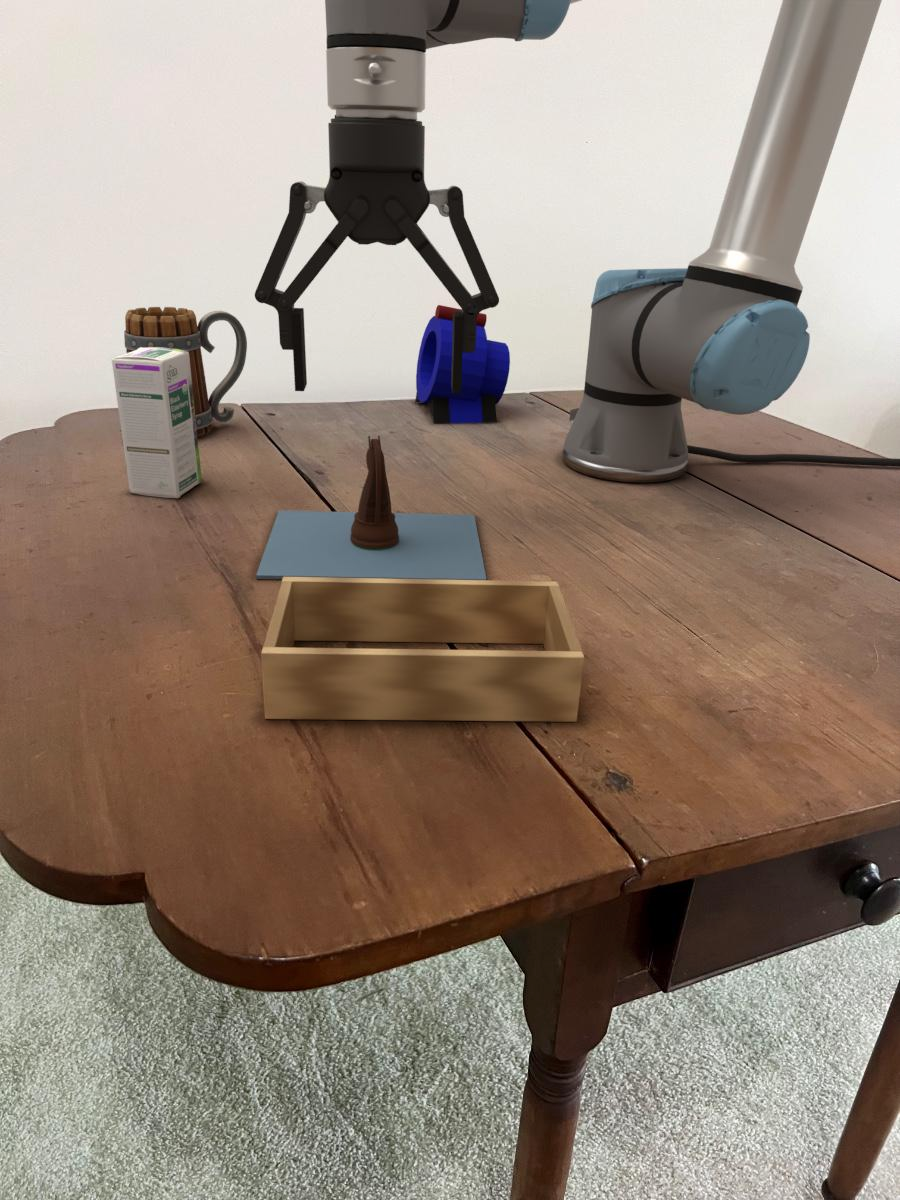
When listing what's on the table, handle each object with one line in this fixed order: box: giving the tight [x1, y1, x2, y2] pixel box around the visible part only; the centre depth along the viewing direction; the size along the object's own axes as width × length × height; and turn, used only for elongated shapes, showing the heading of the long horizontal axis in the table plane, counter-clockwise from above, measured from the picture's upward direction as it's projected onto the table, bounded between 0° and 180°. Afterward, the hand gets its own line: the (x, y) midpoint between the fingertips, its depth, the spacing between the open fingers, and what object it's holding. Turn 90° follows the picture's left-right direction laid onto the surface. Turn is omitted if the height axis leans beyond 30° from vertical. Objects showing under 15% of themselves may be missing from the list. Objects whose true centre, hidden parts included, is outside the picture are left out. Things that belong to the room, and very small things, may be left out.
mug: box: [123, 306, 248, 439], centre depth 116 cm, size 16×11×15 cm
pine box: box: [260, 577, 585, 723], centre depth 65 cm, size 21×12×5 cm, turn 93°
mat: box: [255, 509, 488, 581], centre depth 87 cm, size 20×16×1 cm
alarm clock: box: [415, 304, 511, 425], centre depth 131 cm, size 12×12×15 cm
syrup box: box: [111, 347, 203, 499], centre depth 96 cm, size 6×6×14 cm
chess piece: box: [350, 435, 399, 550], centre depth 85 cm, size 5×5×10 cm
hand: (378, 389), depth 81 cm, fingers open, 13 cm apart
